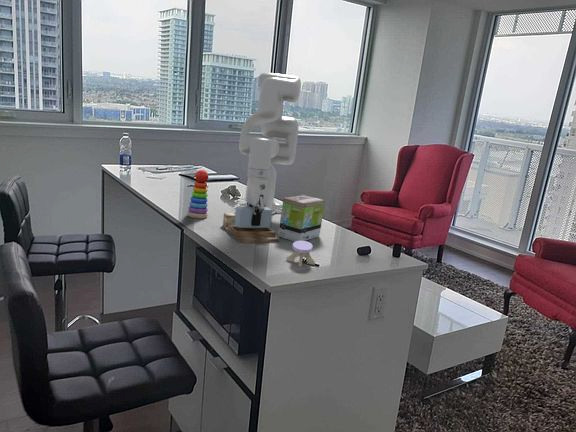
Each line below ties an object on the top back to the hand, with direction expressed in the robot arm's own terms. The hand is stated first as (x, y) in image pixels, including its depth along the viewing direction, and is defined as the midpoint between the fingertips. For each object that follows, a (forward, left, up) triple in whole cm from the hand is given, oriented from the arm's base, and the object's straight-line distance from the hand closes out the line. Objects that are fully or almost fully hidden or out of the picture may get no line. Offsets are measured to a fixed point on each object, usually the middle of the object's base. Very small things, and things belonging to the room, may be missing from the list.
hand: (252, 223), depth 169 cm
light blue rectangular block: (0, 0, -1) cm, 1 cm away
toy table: (-5, +29, -5) cm, 30 cm away
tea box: (-19, +2, -5) cm, 19 cm away
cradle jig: (0, 0, -5) cm, 5 cm away
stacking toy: (+12, -27, -5) cm, 30 cm away
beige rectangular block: (0, -12, -5) cm, 13 cm away
